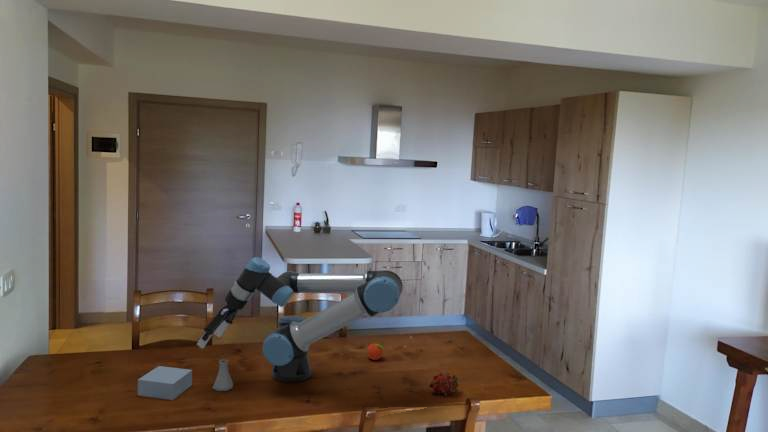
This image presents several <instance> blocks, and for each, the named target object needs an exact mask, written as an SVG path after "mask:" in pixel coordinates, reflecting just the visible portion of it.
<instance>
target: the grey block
mask: <svg viewBox="0 0 768 432" xmlns="http://www.w3.org/2000/svg"><path fill="white" fill-rule="evenodd" d="M192 385H193V369H188V368H179V367H172V366H171V367H170V366H161V365H158V366H157V367H155V368H154V369H152V370H150V371H149V372H148V373H146V374H144V375H143V376H141V377H139V378H138V379H137V396H138V397H139V396H140V397H146V398H155V399H162V400H169V401H174V400H175V399H176V398H177V397H179V396H180V395H182V394H183V393H184V392H186V390H188V389H189V388H190V387H191V386H192Z"/></svg>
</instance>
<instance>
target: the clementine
mask: <svg viewBox="0 0 768 432" xmlns="http://www.w3.org/2000/svg"><path fill="white" fill-rule="evenodd" d="M384 351H385V350H384V348H383V347H382V346H381V345H380V344H379V343H371V344H370V345H368V346H367V349H366V354H367V357H368V358H369V359H371V360H373V361H376V360H379V359H380V358H382V356H383V353H384Z"/></svg>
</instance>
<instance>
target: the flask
mask: <svg viewBox="0 0 768 432" xmlns="http://www.w3.org/2000/svg"><path fill="white" fill-rule="evenodd" d="M218 363H219V369H218V373H217V375H216V379H215V381H214V384H213V385H212V388H211V389H213V390H215V391H217V392H228V391H229V390H232V389H233V387H234V383H233V381H232V377H231V375H230V372H229V368H228V363H229V360H228V359H219V361H218Z"/></svg>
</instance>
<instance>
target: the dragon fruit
mask: <svg viewBox="0 0 768 432" xmlns="http://www.w3.org/2000/svg"><path fill="white" fill-rule="evenodd" d="M458 383H459V379H458V378H457V377H456V375H455V374H450V373H449V372H447V371H446V373H444V372H440V373H438V374H437V375H434V376H433V378H432V381H431V383H430V384H429V388H430V389H431V388H432V393H434V394H438V395H440V394H444V396H448V395H450V394H452V393H454V392H455V391H457V390H458V387H459V384H458Z"/></svg>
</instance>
